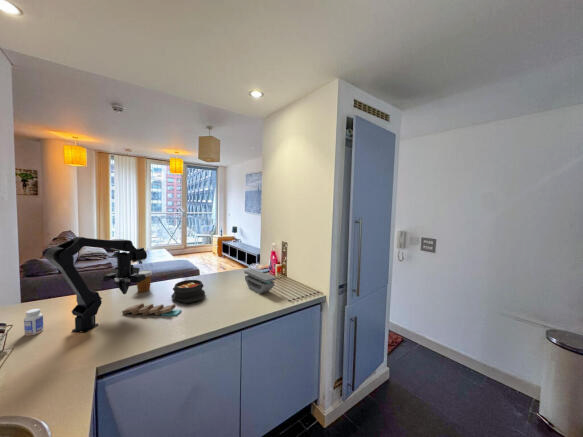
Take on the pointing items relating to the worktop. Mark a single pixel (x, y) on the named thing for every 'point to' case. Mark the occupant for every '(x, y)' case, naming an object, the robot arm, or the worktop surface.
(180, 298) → the casserole
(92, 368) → the worktop surface
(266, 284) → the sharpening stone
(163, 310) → the domino
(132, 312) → the domino
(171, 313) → the teal domino
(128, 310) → the domino
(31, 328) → the pill bottle
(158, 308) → the domino
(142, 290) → the disposable coffee cup
